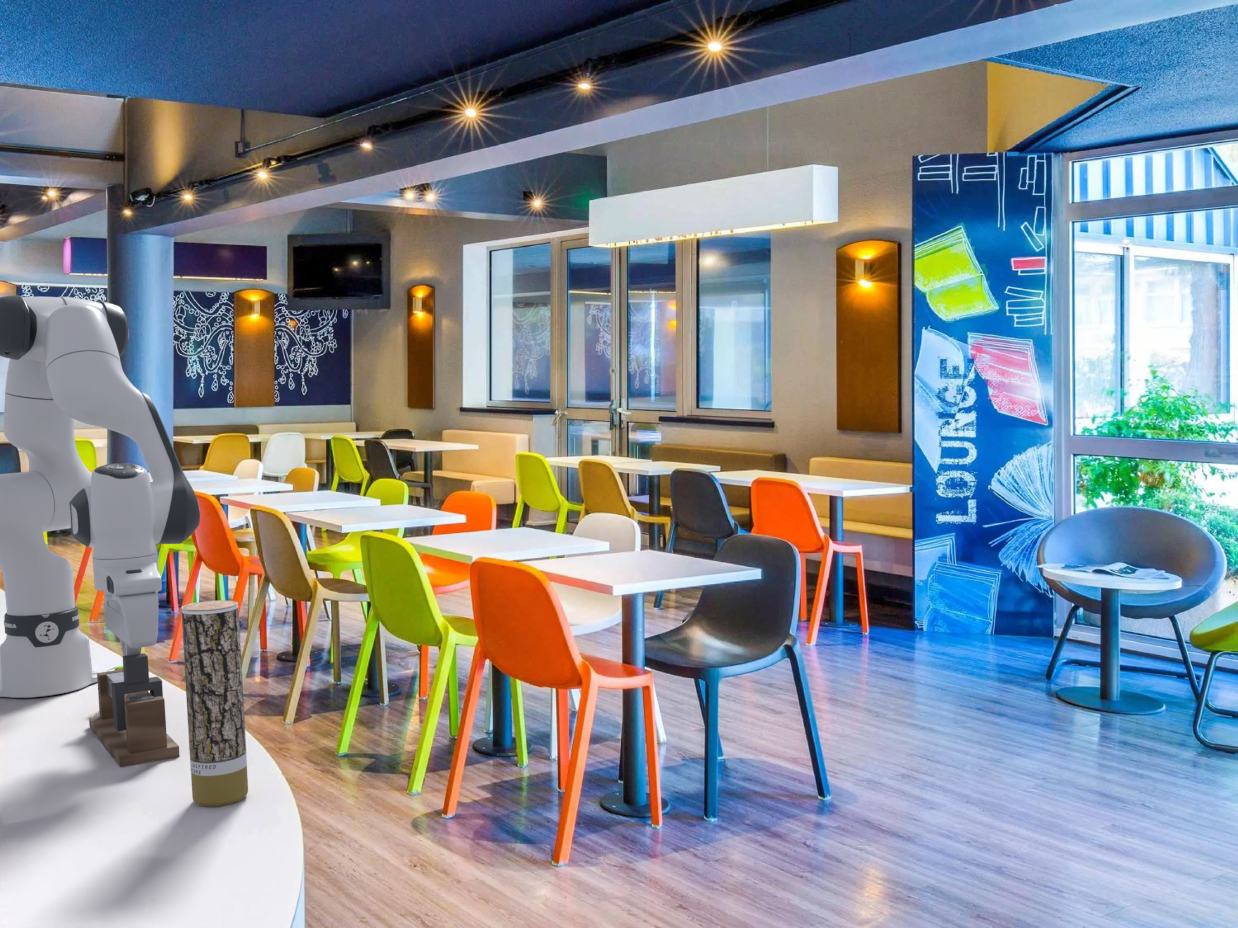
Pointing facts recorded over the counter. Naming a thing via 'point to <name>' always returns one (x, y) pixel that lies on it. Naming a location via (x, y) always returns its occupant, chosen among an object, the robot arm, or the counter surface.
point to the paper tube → (215, 702)
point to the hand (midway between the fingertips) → (132, 667)
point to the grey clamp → (133, 686)
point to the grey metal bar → (128, 697)
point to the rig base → (133, 729)
